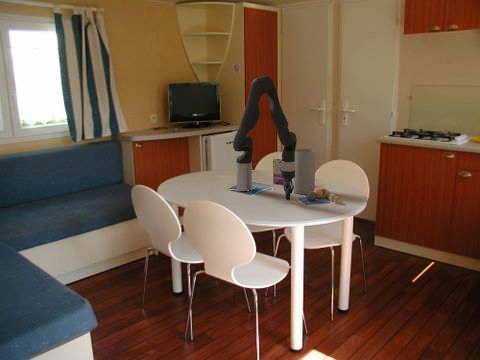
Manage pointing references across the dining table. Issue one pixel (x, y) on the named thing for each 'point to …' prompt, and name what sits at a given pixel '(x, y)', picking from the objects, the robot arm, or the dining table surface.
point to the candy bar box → (277, 171)
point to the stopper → (330, 196)
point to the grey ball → (311, 196)
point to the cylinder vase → (304, 171)
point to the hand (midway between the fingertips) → (287, 199)
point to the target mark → (316, 201)
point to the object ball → (318, 193)
